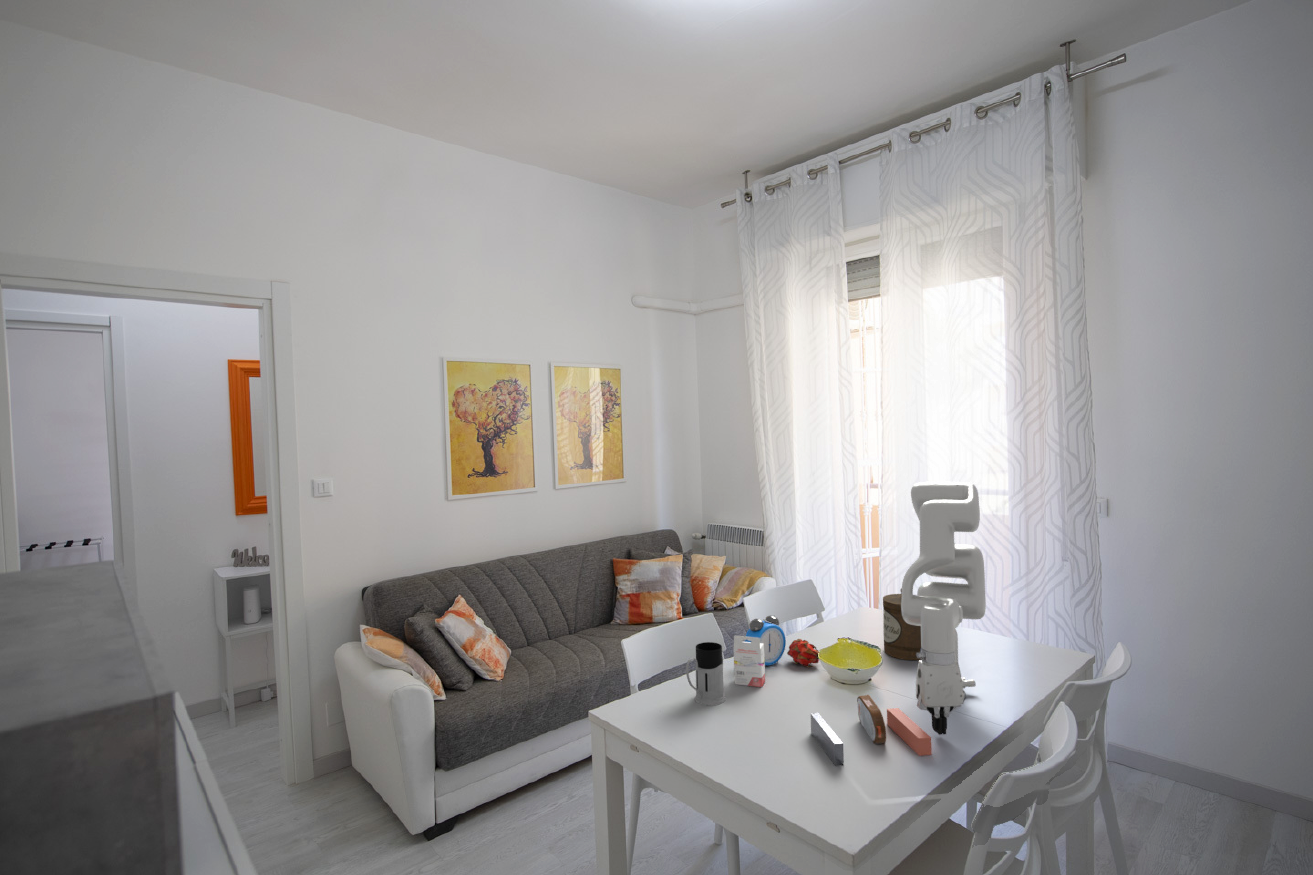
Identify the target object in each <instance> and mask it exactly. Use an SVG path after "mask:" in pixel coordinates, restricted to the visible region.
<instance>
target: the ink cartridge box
mask: <svg viewBox="0 0 1313 875" xmlns="http://www.w3.org/2000/svg"><path fill="white" fill-rule="evenodd" d="M746 639H747V640H748V641H751V642H744V641H745V640H746ZM733 671H734V672H733V675H734V676H733V677H734V685H738V686H739V685H741V686H748V687H749V686H750V687H756V688H763V686H764V684H765V683H766V665H765V659H764V644H763V643H760V638H756V637H747V636H746V635H745V636H743V635H736V634H735V635H734V636H733Z"/></svg>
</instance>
